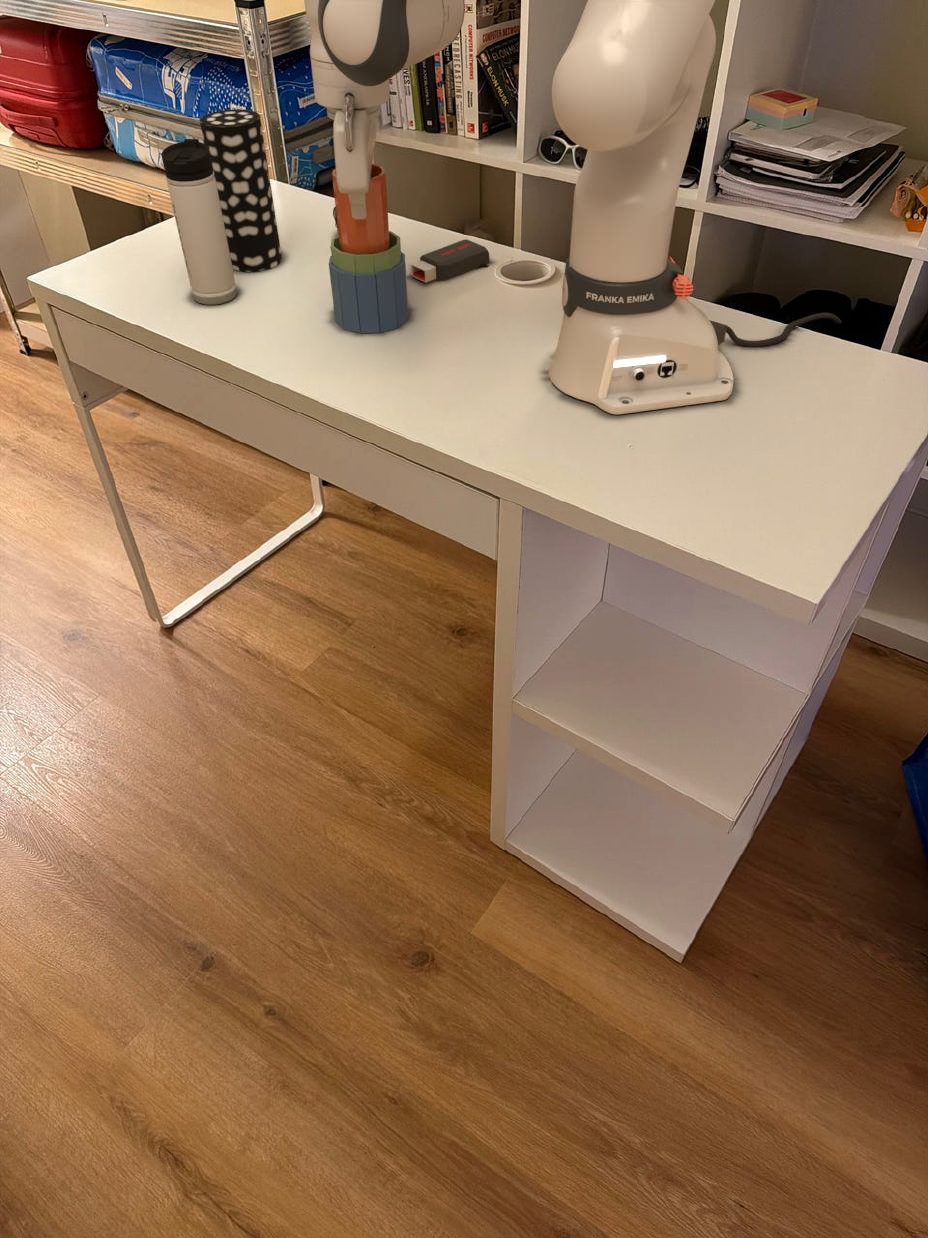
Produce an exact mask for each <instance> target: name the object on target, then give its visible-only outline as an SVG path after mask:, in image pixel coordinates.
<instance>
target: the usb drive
mask: <svg viewBox="0 0 928 1238" xmlns="http://www.w3.org/2000/svg"><path fill="white" fill-rule="evenodd" d="M489 263H490V252H489V250H488V248H487V247H486V246H484V245H481V244H479V243H477V242H475V241H472V240H469V239H466V238H465V239H462V240H458V241H457V242H454V243H451V244H448V245H446V246H443V247H441V248H440V247H439V248H438V249H435V250H433V251H430V252H427V253H425V254H422V255H420V256H419V261H417V262H414V263H412V264H410V274H411V277H413V278H415V279H416V280H419V281H421V282H423V283H425V284H426V283H429V282H431V281H437V282H441V281H447V280H450V279H453V278H455V277H457V276H460V275H462V274H465V273H468V272H469V271H473V270H475V269H477V268H480V267H482V266H485V265H487V264H489Z"/></svg>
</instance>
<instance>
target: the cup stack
mask: <svg viewBox="0 0 928 1238" xmlns="http://www.w3.org/2000/svg"><path fill="white" fill-rule="evenodd" d="M389 239H390V248H389V250H387V251H383V252H379V253H375V254H362V255H355V254H350V253H345V252H341V250H340V245H339V235H338V234H337V235H336V236H334V237H333V238H331V241H330V252H331V253H330V254H331V255H330V256H329V260H328V270H329V278H330V286H331V287H330V288H331V297H332V303H333V312H334V313H333V314H334V320H335V323H336V324H337V325H339V326H340V327H341V328H342V329H343V330H345V331H350V332H354V333H357V334H380V333H381V334H382V333H385V332H388V331H391V330H395V329H398V328H400V327H401V326H403V324H405V323H406V322H407V321H409V302H408V301H409V300H408V299H409V298H408V286H407V285H408V284H407V268H406V254H405V253H404V252H403V251H402V246H401V245H402V244H401V237H400V236H399V235H398V234H396V233H394V232H393V231H391V230H389Z"/></svg>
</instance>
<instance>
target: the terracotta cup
mask: <svg viewBox="0 0 928 1238" xmlns="http://www.w3.org/2000/svg"><path fill="white" fill-rule="evenodd" d="M331 176H332V186H333V187H332V188H333V195H334V205H335V206H336V216H337V225H338V230H337V236H338V235H339V245H340V250H341V252H345V253H350V254H355V255H362V254H375V253H379V252H383V251H387V250H389V248H390V239H389V231H390V224H389V211H388V194H387V181H386V179H387V178H386V168H384V167H383V166H381V165H379V164H376V163H372V169H371V176H370V183H369V190H368V192H367V193H366V206H367V216H366V218H365V219H354V218H353V217H352V211H351V204H350V200H349V196H348V194H344V193H341V192H340V191H339V189H338V185H337V177H336V168H334V169H332V173H331ZM335 206H334V207H335ZM337 225H336V226H337Z"/></svg>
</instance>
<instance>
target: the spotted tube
mask: <svg viewBox="0 0 928 1238" xmlns="http://www.w3.org/2000/svg"><path fill="white" fill-rule="evenodd" d="M199 126H200V130H201V136H202V140H203V143H204V144H206V145H207V146H208V147H209V151H210V156H211V161H212V167H213V171H214V177H215V180H216V185H217V190H218V195H219V201H220V206H221V211H222V216H223V221H224V227H225V232H226V237H227V242H228V247H229V253H230V258H231V263H232V268H233V271H234V270H235V271H239V272H245V273H254V272H262V271H266V270H270V269H273V268H275V267H276V266H278V265H280V264H281V262H282V261H283V256H282V249H281V242H280V235H279V230H278V223H277V218H276V210H275V203H274V198H273V191H272V184H271V177H270V171H269V166H268V159H267V152H266V146H265V137H264V132H263V127H262V126H263V125H262V119H261V114H260V113H259V112H258V111H257V112H256V111H254V110H250V109H241V108H239V109H238V108H234V109H233V108H232V109H231V108H230V109H223V110H217V111H212V112H209V113H206V114H204V115H202V116H201V117H200V118H199Z"/></svg>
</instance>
